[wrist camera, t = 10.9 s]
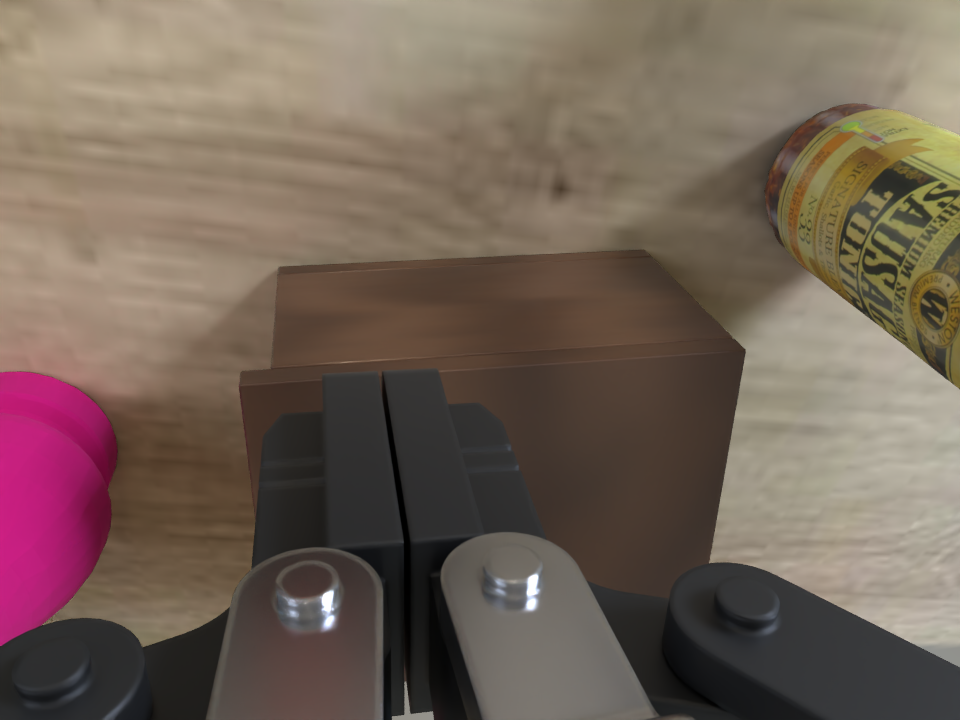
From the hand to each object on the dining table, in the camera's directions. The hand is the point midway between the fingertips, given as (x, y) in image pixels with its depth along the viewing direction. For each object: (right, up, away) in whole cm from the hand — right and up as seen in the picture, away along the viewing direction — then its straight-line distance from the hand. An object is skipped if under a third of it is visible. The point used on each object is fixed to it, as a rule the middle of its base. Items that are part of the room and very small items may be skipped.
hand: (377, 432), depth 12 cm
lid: (+2, -4, +16) cm, 17 cm away
